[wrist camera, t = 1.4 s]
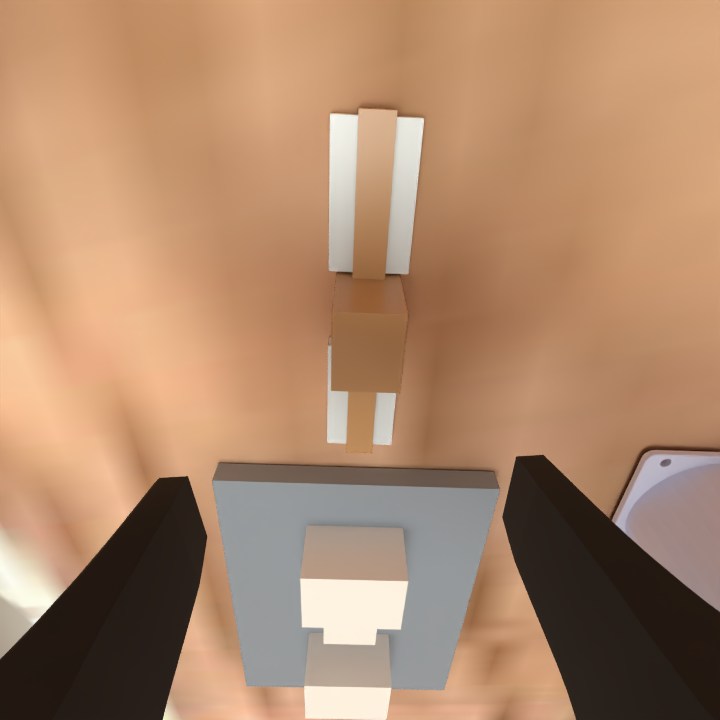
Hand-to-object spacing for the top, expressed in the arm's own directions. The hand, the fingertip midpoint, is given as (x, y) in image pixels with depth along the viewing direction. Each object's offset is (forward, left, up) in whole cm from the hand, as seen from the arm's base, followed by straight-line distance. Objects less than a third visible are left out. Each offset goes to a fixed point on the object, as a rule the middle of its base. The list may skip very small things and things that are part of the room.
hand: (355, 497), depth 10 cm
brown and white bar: (0, 0, -10) cm, 10 cm away
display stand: (0, +19, -10) cm, 21 cm away
